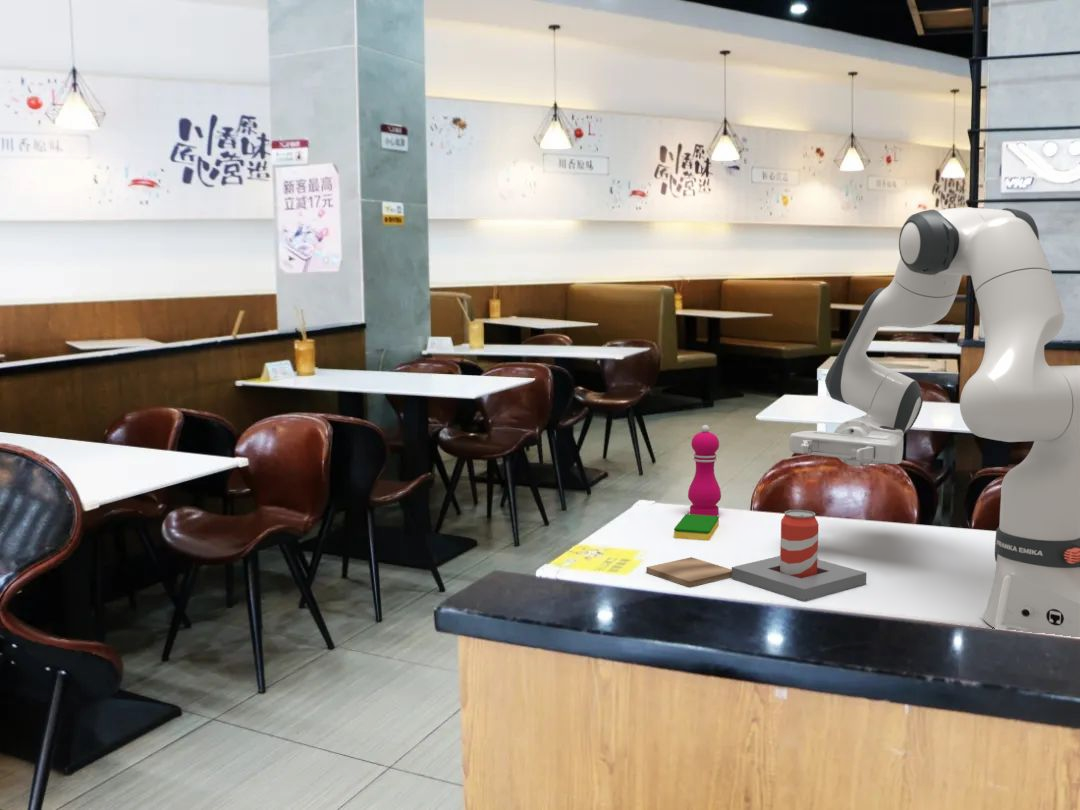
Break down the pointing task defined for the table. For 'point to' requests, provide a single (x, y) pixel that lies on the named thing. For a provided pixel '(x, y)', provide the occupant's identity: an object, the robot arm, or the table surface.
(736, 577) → the dock
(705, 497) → the pepper mill
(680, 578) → the coaster pad
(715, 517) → the dish sponge
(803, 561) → the beverage can
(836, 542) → the table surface
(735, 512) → the table surface
